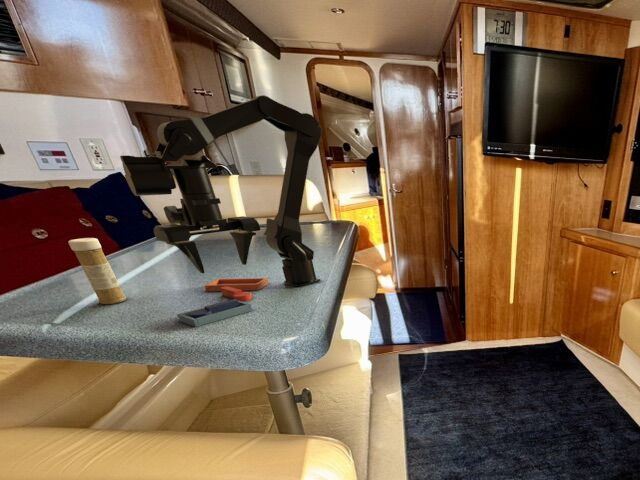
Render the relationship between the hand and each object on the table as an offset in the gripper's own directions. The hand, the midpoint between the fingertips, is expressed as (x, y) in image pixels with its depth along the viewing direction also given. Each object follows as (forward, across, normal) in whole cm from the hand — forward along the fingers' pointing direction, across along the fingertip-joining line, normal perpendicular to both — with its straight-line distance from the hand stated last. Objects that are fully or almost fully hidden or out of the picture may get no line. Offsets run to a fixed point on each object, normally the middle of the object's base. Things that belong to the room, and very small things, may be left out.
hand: (224, 268), depth 90 cm
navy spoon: (+6, +9, +10) cm, 15 cm away
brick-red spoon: (+6, 0, +1) cm, 7 cm away
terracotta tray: (+6, -5, -7) cm, 10 cm away
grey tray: (+6, +9, +10) cm, 15 cm away
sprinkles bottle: (+7, +16, -19) cm, 25 cm away
